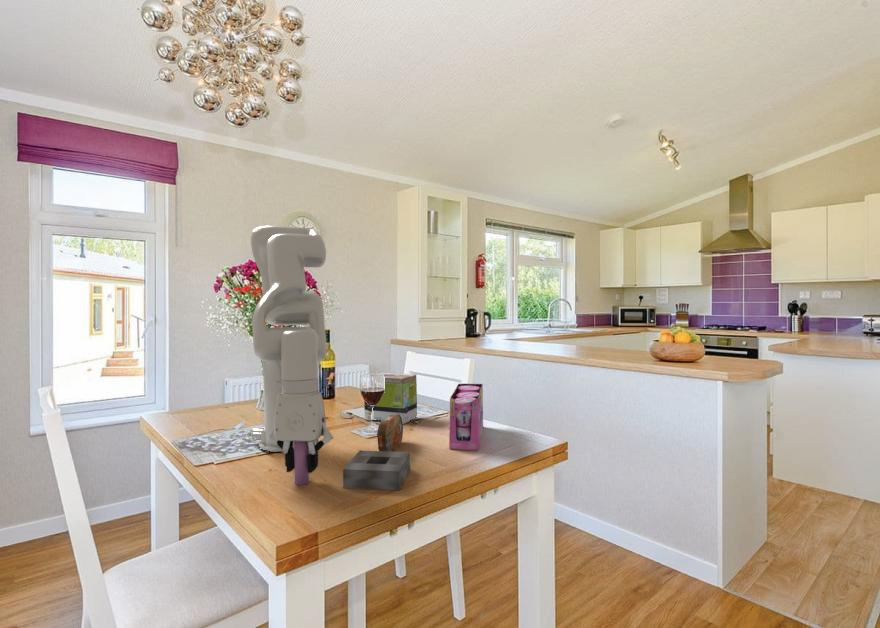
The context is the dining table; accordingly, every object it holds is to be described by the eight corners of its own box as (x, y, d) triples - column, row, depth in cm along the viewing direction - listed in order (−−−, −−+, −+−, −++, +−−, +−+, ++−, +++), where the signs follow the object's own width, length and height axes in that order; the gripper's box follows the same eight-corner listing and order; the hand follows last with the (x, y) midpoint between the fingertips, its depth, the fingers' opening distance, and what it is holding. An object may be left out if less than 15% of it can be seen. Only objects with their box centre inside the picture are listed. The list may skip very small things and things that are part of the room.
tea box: (418, 417, 154) (417, 373, 153) (403, 425, 144) (403, 378, 144) (379, 413, 160) (379, 371, 159) (363, 420, 151) (362, 375, 150)
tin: (387, 459, 114) (386, 425, 114) (375, 458, 114) (374, 424, 114) (404, 440, 128) (403, 410, 128) (393, 440, 129) (393, 410, 129)
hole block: (343, 487, 96) (342, 469, 96) (360, 467, 108) (360, 450, 108) (399, 490, 95) (398, 471, 95) (410, 469, 107) (409, 452, 106)
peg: (292, 484, 98) (291, 438, 98) (298, 479, 101) (297, 434, 101) (305, 485, 98) (304, 439, 97) (311, 479, 101) (310, 434, 100)
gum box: (478, 452, 118) (478, 400, 117) (447, 451, 119) (447, 399, 119) (483, 427, 142) (483, 383, 141) (458, 426, 143) (457, 383, 142)
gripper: (254, 389, 96) (256, 475, 97) (331, 390, 94) (332, 478, 95) (272, 382, 104) (273, 462, 104) (343, 383, 101) (344, 465, 102)
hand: (301, 469), depth 99 cm, fingers open, 4 cm apart
